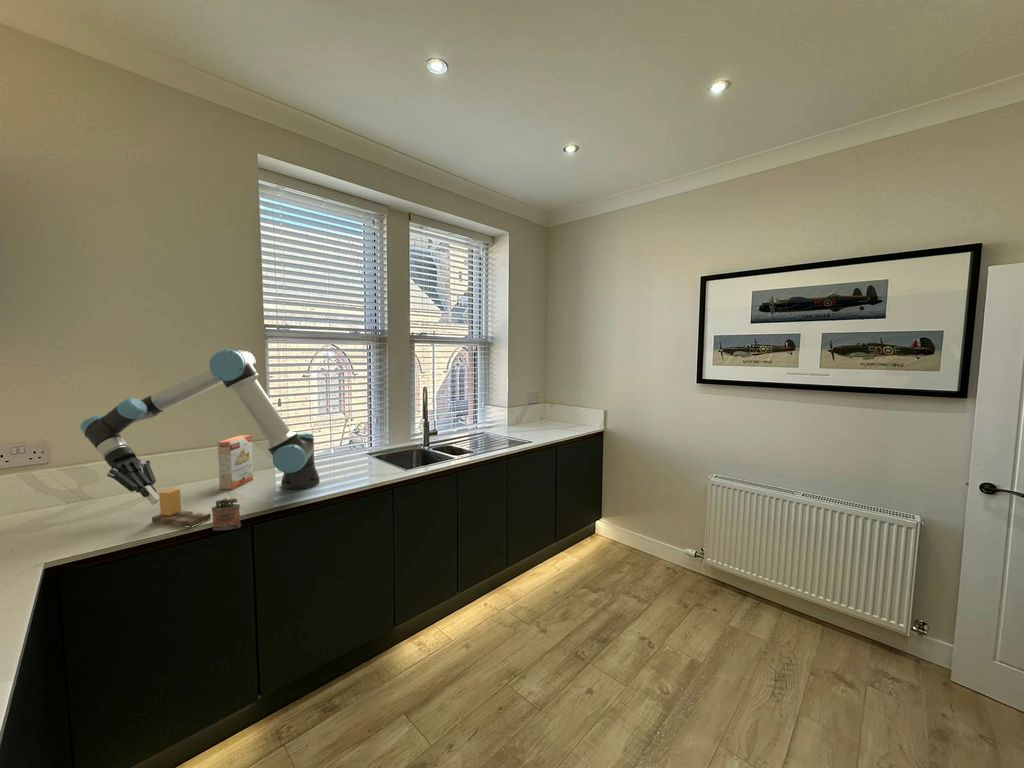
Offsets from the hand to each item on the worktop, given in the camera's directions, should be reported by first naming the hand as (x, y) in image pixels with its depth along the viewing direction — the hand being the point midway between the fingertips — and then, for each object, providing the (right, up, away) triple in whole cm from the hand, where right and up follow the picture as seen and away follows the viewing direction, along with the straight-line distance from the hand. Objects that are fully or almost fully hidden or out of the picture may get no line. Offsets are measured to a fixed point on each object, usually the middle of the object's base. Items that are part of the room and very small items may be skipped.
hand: (156, 501), depth 145 cm
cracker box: (+5, -3, +36) cm, 36 cm away
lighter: (+30, -7, -7) cm, 32 cm away
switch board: (+11, -6, -2) cm, 12 cm away
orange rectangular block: (+6, -4, -1) cm, 7 cm away
